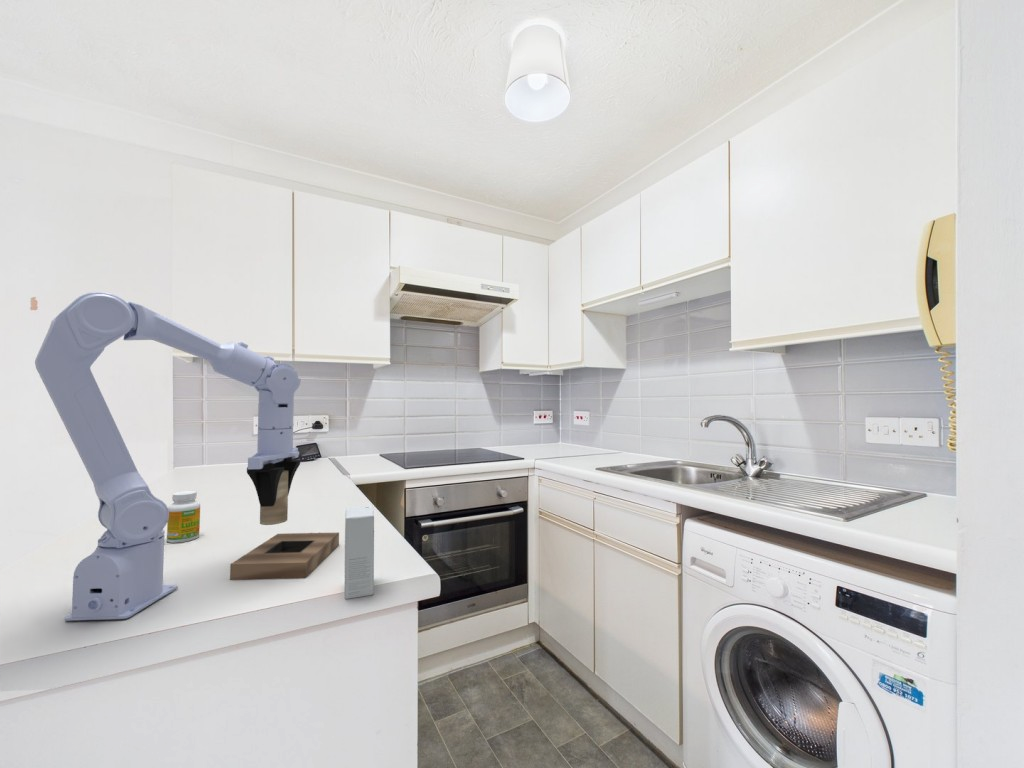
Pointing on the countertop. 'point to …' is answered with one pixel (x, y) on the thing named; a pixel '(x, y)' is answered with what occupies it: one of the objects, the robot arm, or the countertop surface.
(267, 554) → the socket block
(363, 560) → the skincare box
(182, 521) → the supplement bottle
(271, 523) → the birch peg
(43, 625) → the countertop surface
